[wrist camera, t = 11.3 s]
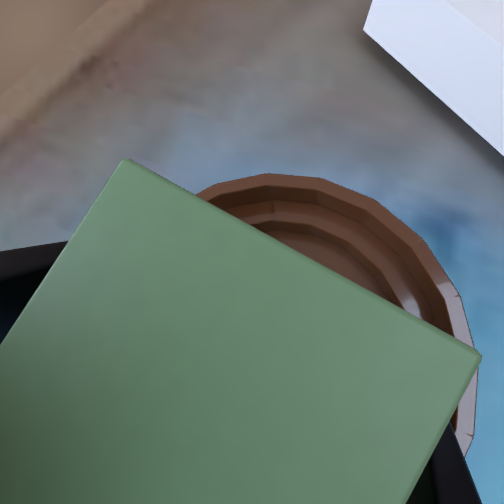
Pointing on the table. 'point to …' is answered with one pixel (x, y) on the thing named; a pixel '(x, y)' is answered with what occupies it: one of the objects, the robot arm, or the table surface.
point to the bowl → (355, 252)
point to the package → (213, 368)
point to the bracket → (450, 54)
